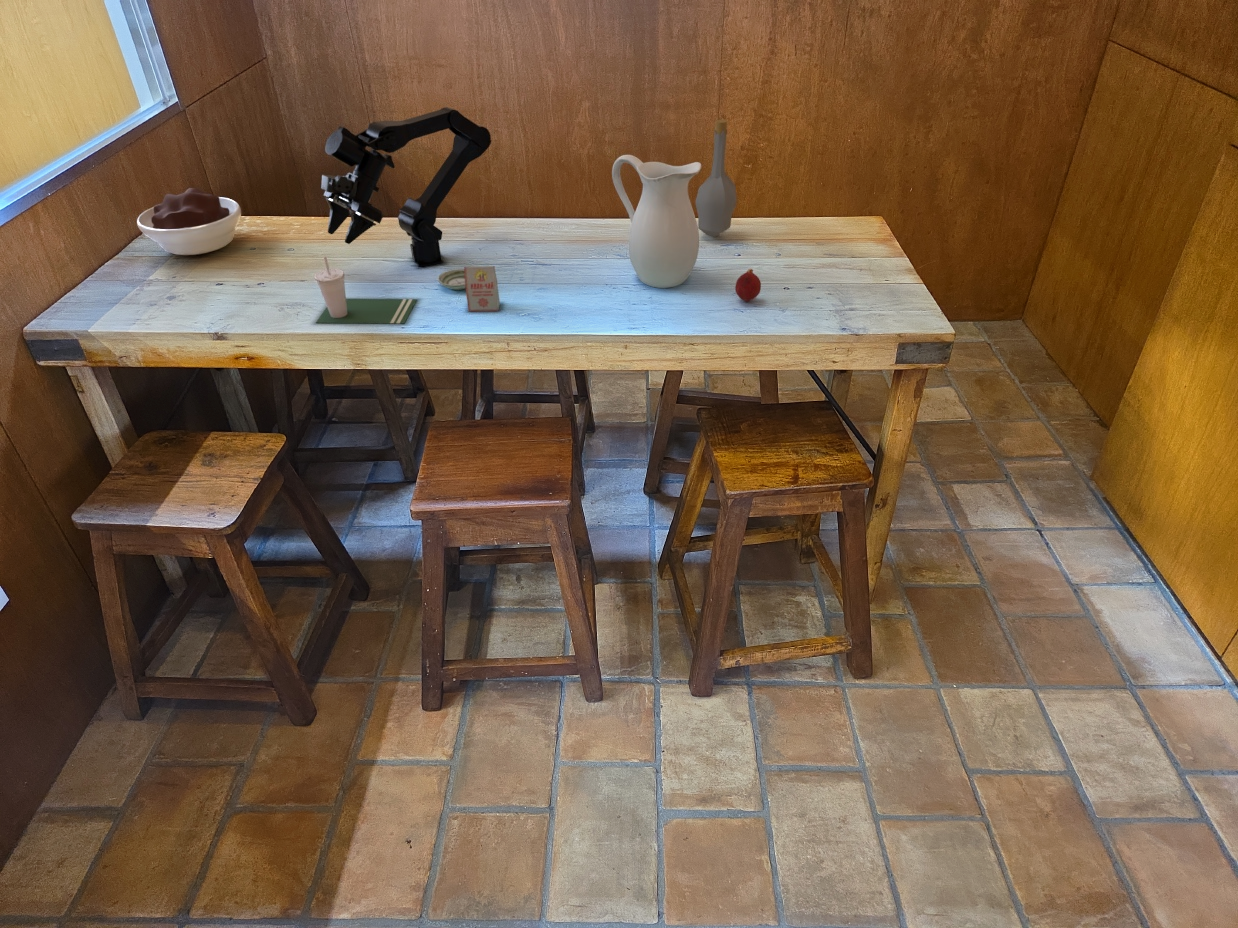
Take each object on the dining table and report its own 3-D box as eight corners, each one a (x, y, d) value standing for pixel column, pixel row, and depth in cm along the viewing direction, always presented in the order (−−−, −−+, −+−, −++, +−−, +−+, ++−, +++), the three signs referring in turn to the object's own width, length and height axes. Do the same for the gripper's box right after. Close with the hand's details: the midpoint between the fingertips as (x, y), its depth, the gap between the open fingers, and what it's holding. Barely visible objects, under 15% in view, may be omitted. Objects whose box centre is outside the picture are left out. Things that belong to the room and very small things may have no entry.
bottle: (736, 245, 209) (746, 127, 191) (694, 245, 209) (700, 127, 191) (732, 229, 218) (741, 115, 200) (691, 230, 218) (697, 115, 200)
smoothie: (327, 323, 175) (312, 264, 167) (321, 311, 180) (306, 253, 171) (356, 317, 178) (342, 258, 169) (350, 305, 182) (336, 248, 174)
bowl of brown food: (139, 271, 199) (115, 212, 190) (160, 235, 218) (140, 180, 209) (243, 261, 204) (225, 203, 194) (255, 226, 223) (239, 172, 214)
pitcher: (710, 277, 193) (718, 161, 176) (666, 300, 184) (670, 180, 166) (638, 252, 206) (639, 141, 189) (593, 272, 196) (590, 157, 179)
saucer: (463, 274, 196) (462, 264, 195) (487, 285, 191) (486, 276, 189) (431, 286, 191) (429, 276, 189) (454, 298, 185) (452, 288, 184)
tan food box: (470, 304, 183) (465, 263, 177) (499, 303, 183) (495, 263, 177) (468, 311, 180) (463, 270, 174) (498, 311, 180) (493, 270, 174)
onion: (752, 309, 179) (756, 276, 175) (729, 303, 182) (732, 271, 177) (763, 299, 183) (766, 267, 178) (740, 294, 186) (743, 262, 181)
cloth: (416, 300, 185) (416, 299, 185) (404, 324, 175) (404, 323, 175) (333, 299, 185) (332, 298, 185) (316, 323, 176) (315, 322, 176)
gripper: (317, 151, 181) (290, 214, 182) (353, 166, 169) (324, 233, 171) (359, 175, 189) (332, 234, 191) (396, 191, 177) (367, 254, 179)
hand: (338, 238), depth 183 cm, fingers open, 9 cm apart
